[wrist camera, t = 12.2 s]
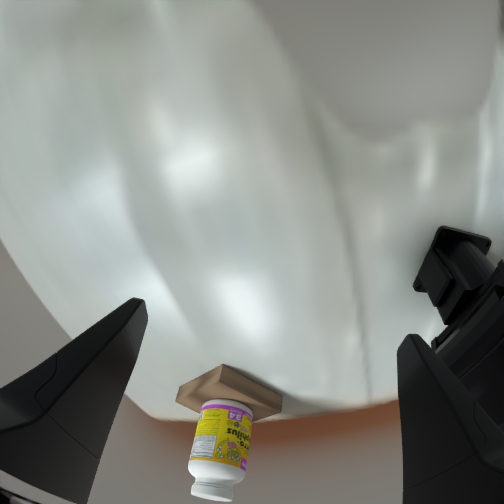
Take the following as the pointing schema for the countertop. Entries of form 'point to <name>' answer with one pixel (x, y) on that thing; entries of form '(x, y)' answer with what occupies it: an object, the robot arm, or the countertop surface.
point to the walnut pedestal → (229, 392)
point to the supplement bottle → (220, 449)
